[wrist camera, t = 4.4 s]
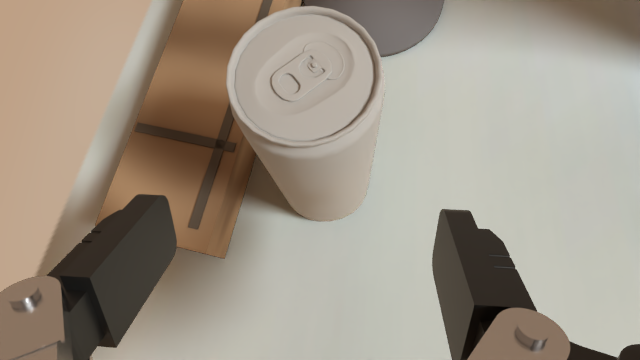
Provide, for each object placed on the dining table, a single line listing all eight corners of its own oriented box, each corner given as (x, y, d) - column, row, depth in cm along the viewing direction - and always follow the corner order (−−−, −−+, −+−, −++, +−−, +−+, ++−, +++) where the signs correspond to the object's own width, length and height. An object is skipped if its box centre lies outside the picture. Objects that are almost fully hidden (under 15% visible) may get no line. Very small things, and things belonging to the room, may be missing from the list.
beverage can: (385, 189, 23) (423, 80, 11) (318, 242, 22) (285, 185, 11) (332, 128, 24) (317, -26, 12) (268, 177, 23) (189, 63, 12)
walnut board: (245, -88, 29) (233, -131, 26) (325, -77, 28) (323, -121, 25) (126, 234, 23) (93, 225, 20) (224, 258, 22) (205, 253, 19)
